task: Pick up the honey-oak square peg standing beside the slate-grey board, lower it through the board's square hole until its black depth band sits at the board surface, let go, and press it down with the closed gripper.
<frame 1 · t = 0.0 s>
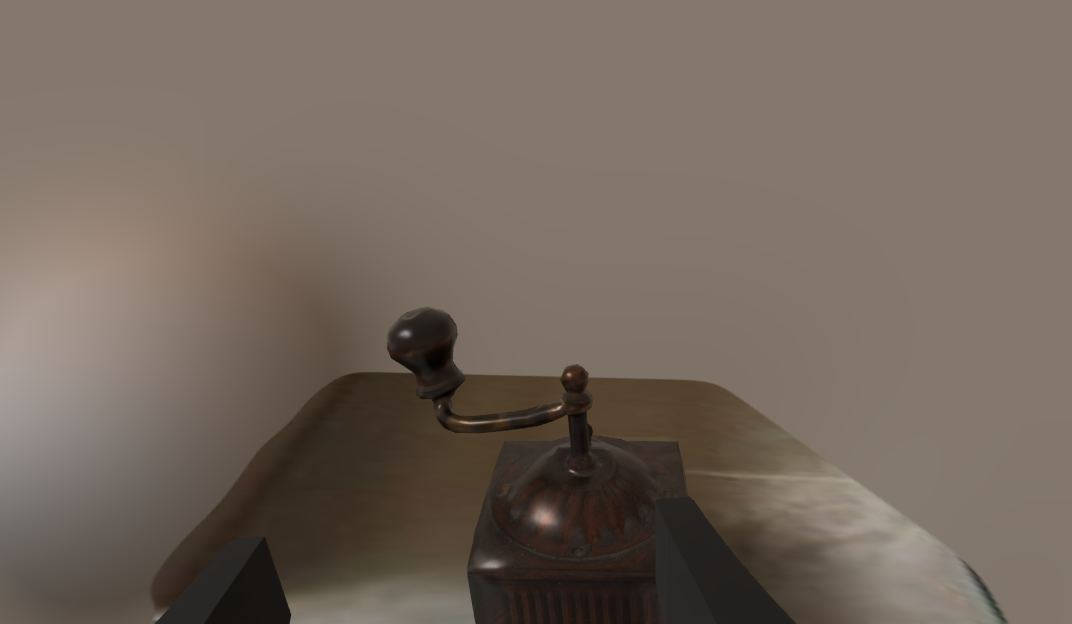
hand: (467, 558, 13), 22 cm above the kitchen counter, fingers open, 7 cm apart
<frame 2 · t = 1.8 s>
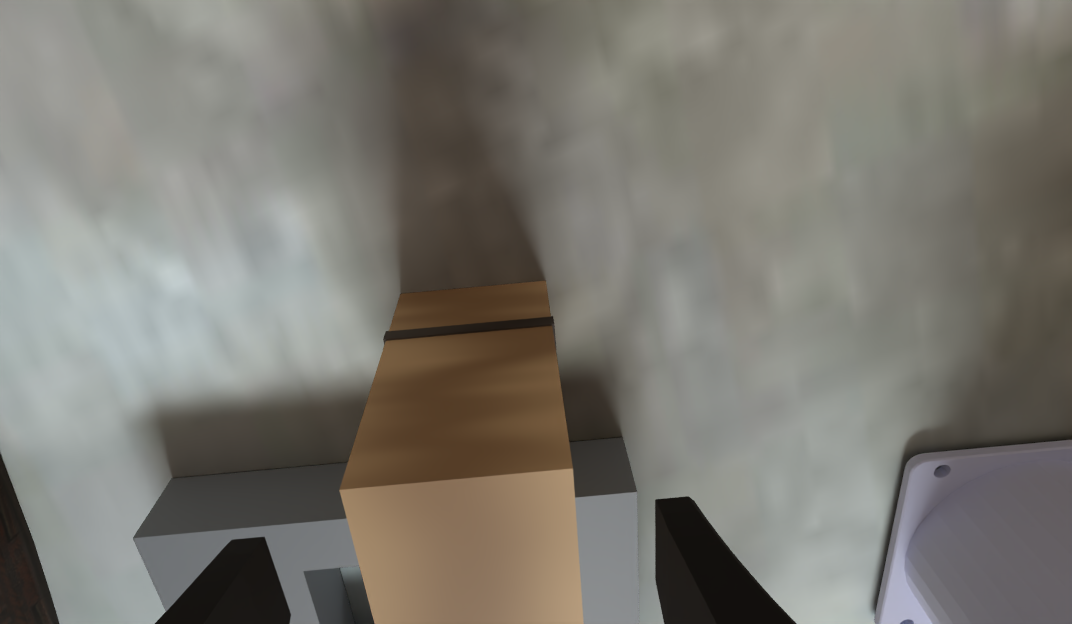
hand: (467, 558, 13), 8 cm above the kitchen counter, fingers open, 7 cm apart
hole board: (419, 564, 23), on the kitchen counter
oak peg: (481, 350, 20), on the kitchen counter
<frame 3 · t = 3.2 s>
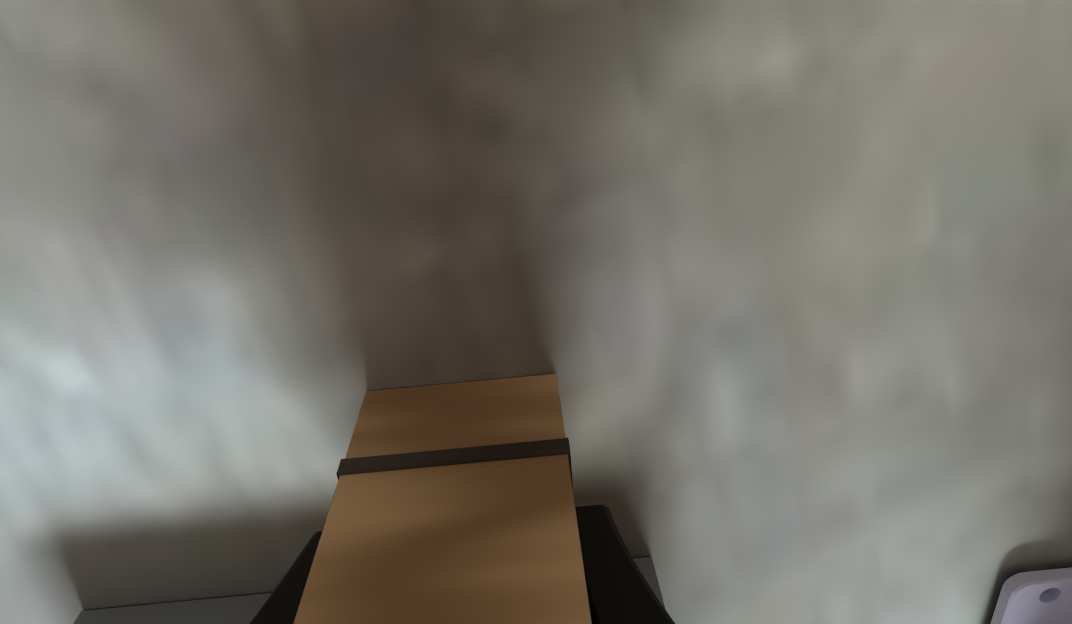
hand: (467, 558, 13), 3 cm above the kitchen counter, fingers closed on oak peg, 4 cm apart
oak peg: (472, 458, 15), on the kitchen counter, touching gripper
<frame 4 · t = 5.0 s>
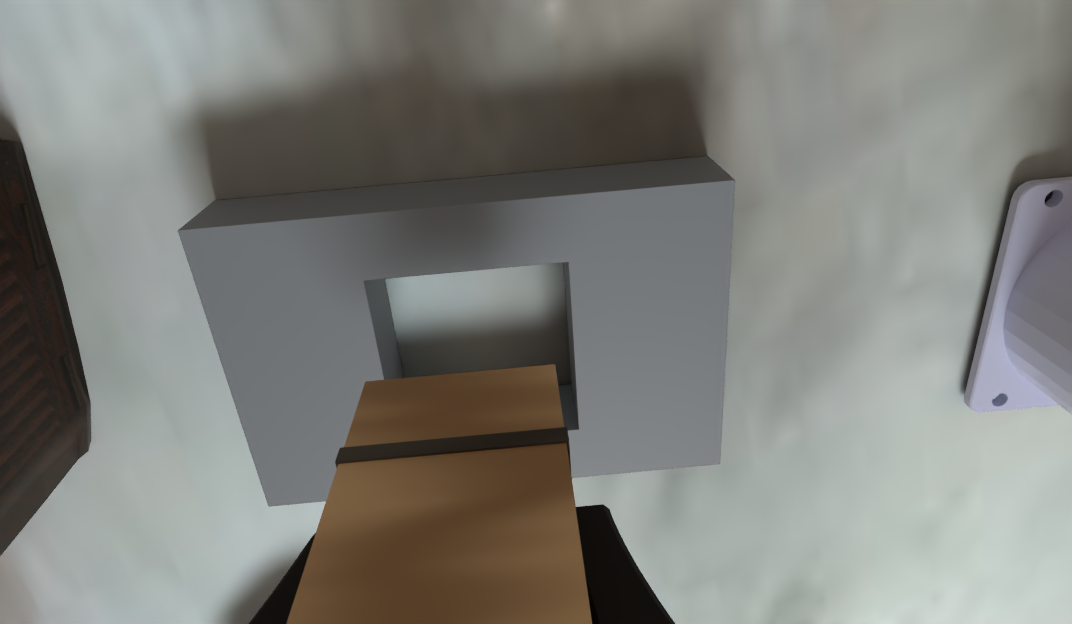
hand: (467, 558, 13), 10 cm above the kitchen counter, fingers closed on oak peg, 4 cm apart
hole board: (480, 319, 21), on the kitchen counter
oak peg: (471, 449, 15), point 7 cm above the kitchen counter, touching gripper
when the fingers open (4 cm above the kitchen counter, at t = 6.8 s): oak peg stays where it is, resting in hole board.
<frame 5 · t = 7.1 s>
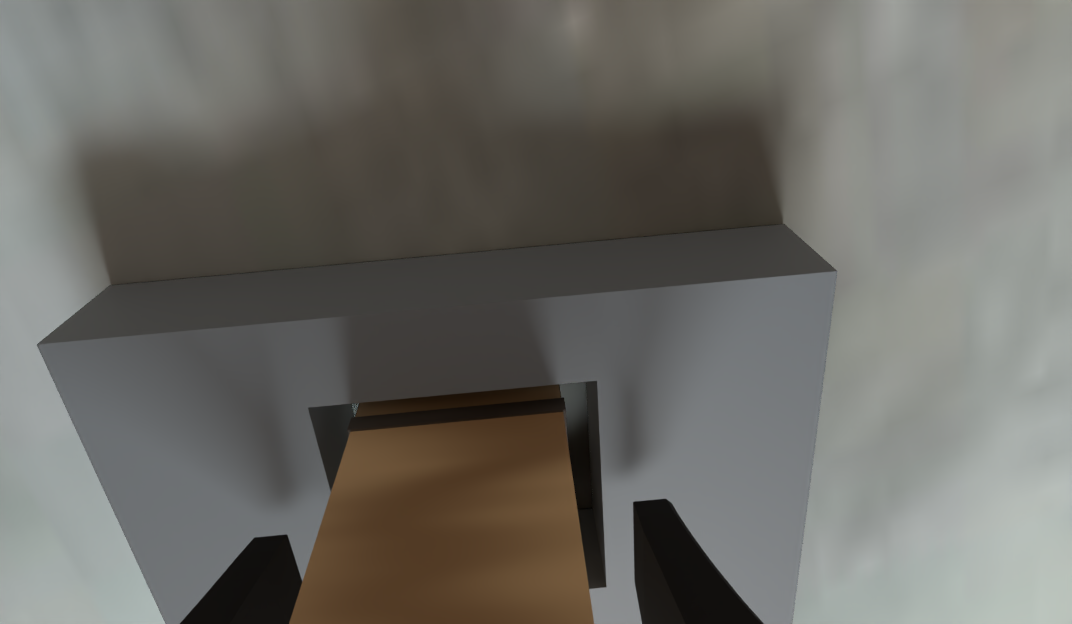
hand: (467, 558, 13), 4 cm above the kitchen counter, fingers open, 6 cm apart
hole board: (474, 431, 16), on the kitchen counter
oak peg: (474, 423, 16), resting in hole board
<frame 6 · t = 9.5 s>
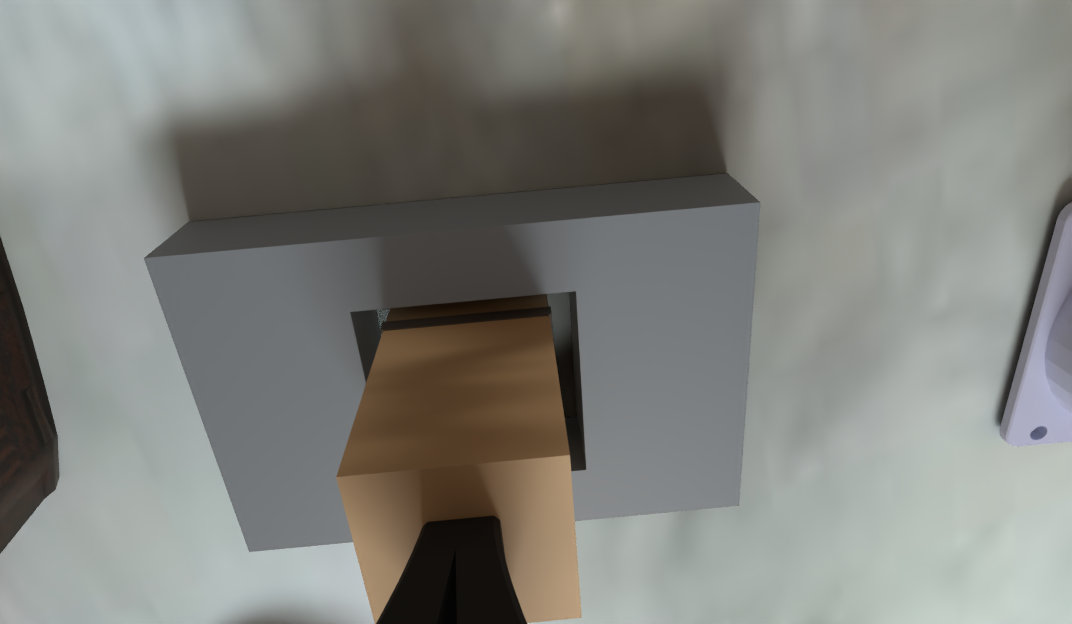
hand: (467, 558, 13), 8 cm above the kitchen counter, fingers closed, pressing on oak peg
hole board: (478, 348, 20), on the kitchen counter
oak peg: (478, 341, 20), resting in hole board, touching gripper
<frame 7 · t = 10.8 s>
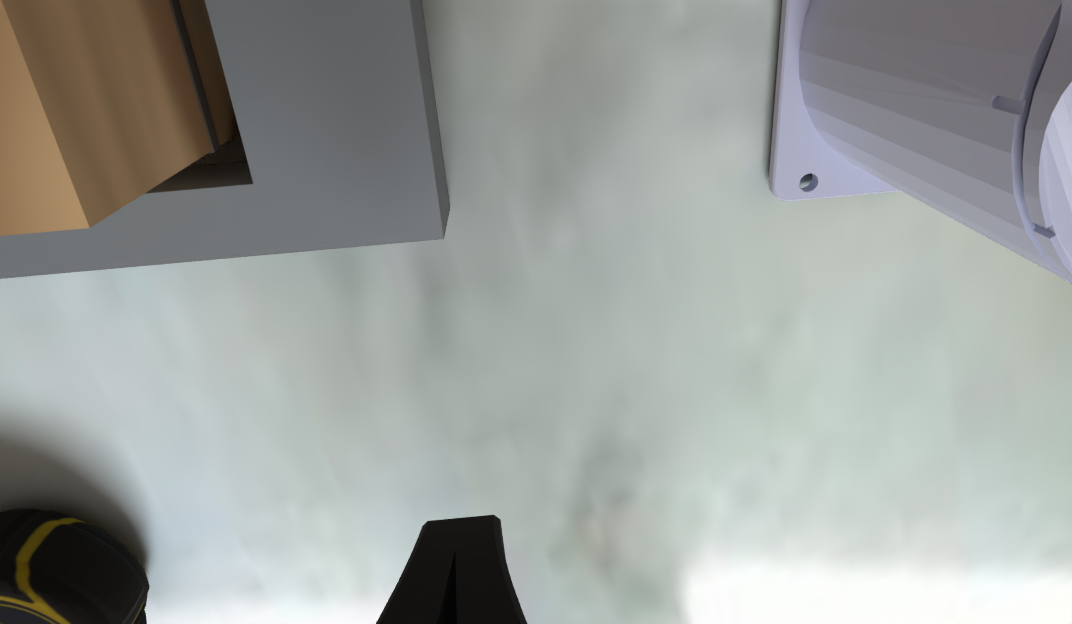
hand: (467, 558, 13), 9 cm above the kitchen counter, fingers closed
hole board: (150, 62, 17), on the kitchen counter
tape measure: (65, 571, 25), on the kitchen counter
oak peg: (149, 53, 17), resting in hole board
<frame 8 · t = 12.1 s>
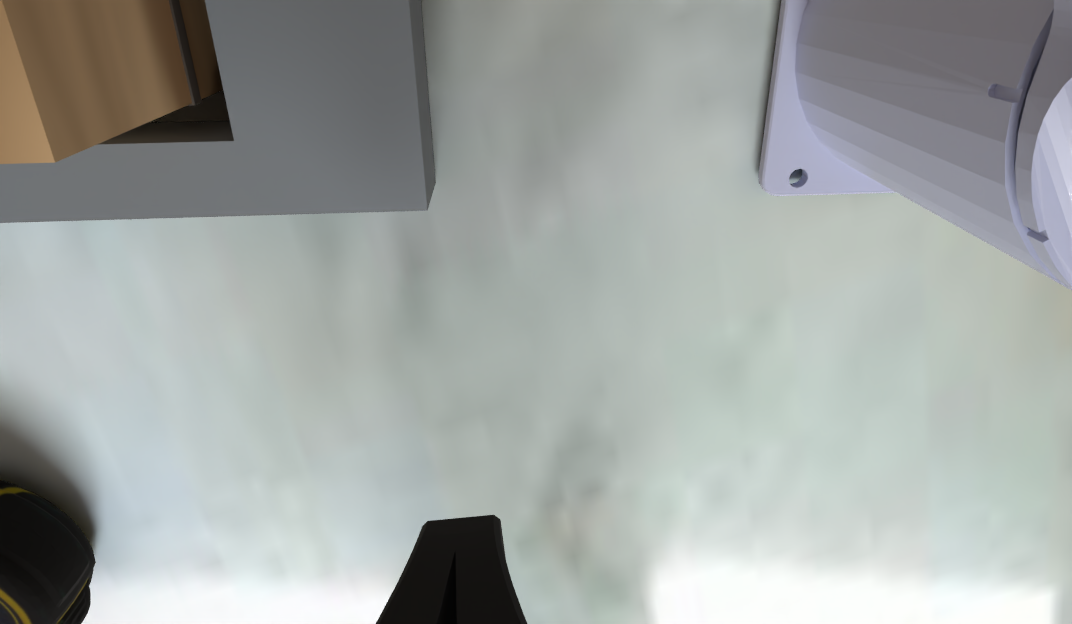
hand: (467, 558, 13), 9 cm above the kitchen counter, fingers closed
hole board: (134, 10, 17), on the kitchen counter
tape measure: (9, 542, 25), on the kitchen counter
oak peg: (133, 1, 17), resting in hole board
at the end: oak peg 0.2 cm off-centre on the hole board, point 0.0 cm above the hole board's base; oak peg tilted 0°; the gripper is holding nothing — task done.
